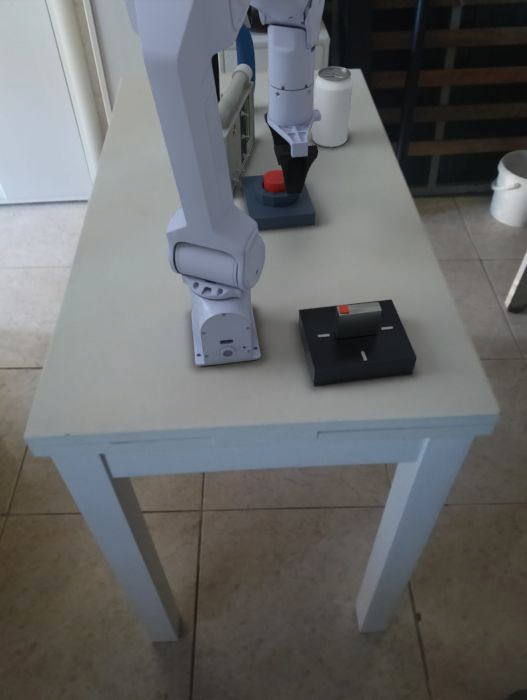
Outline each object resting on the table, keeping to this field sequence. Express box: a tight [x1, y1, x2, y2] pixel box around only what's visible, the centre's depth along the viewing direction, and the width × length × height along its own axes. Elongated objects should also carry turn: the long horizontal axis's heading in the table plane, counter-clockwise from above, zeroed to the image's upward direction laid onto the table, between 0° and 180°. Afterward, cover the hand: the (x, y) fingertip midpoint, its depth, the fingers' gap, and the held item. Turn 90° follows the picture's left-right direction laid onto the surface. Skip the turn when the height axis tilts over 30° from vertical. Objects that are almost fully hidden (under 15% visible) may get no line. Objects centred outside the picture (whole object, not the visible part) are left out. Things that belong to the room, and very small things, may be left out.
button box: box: [240, 174, 316, 232], centre depth 90 cm, size 12×10×4 cm
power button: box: [263, 169, 286, 193], centre depth 88 cm, size 4×4×2 cm
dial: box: [334, 301, 382, 339], centre depth 67 cm, size 5×2×4 cm, turn 98°
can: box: [311, 65, 353, 149], centre depth 101 cm, size 6×6×12 cm
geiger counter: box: [218, 64, 256, 194], centre depth 96 cm, size 14×6×25 cm
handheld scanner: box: [211, 5, 256, 104], centre depth 105 cm, size 5×16×20 cm, turn 115°
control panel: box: [297, 299, 417, 387], centre depth 70 cm, size 12×10×3 cm
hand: (289, 177), depth 82 cm, fingers open, 7 cm apart
